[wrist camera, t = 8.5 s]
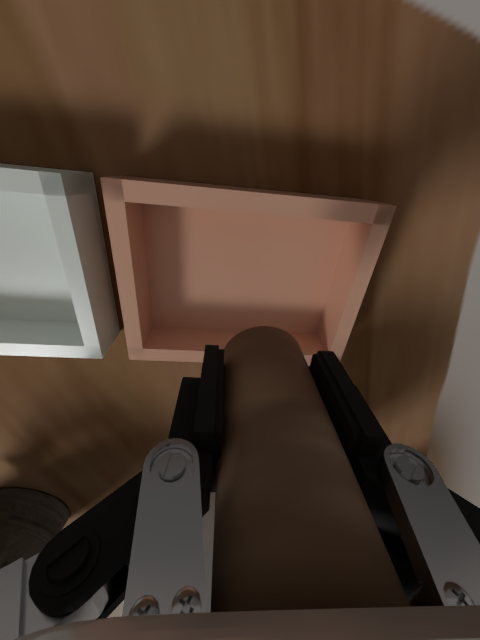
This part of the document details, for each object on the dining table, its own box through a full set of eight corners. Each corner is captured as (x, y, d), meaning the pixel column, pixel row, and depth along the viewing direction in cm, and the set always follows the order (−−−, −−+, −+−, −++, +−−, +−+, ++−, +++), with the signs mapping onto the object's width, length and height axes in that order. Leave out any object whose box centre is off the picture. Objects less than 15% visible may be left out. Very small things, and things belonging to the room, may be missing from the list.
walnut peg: (309, 328, 11) (459, 606, 4) (293, 392, 12) (376, 665, 5) (223, 323, 10) (213, 613, 3) (219, 389, 12) (205, 672, 5)
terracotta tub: (365, 199, 17) (396, 205, 14) (322, 340, 22) (338, 367, 19) (124, 175, 15) (99, 177, 12) (143, 332, 21) (129, 359, 18)
